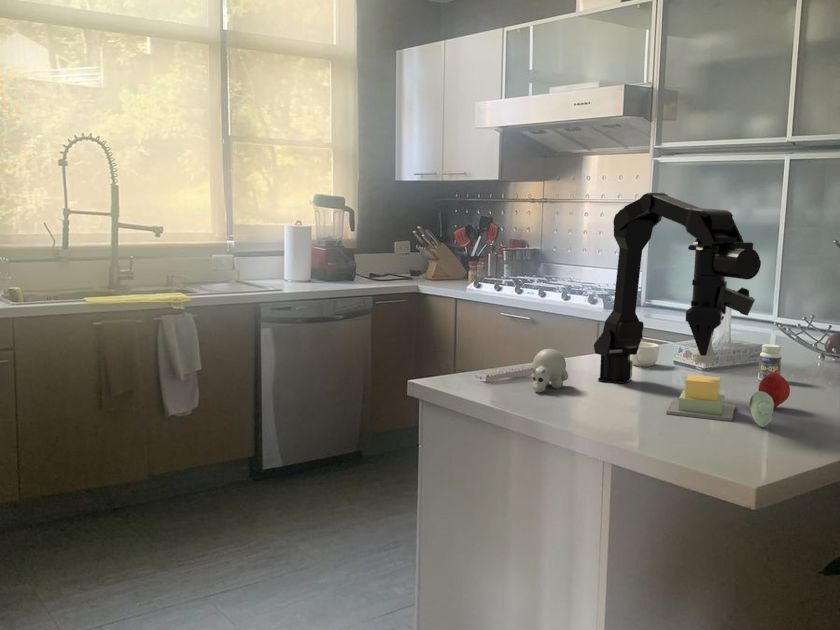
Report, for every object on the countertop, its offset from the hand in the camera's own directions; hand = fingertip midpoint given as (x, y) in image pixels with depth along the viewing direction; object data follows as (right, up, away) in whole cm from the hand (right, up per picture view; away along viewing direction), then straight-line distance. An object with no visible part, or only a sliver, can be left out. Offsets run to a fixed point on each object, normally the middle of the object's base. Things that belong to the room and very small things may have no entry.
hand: (704, 353), depth 159 cm
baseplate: (0, -12, +2) cm, 12 cm away
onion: (+15, -12, +5) cm, 20 cm away
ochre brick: (0, -9, +1) cm, 9 cm away
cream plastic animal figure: (-28, -9, +20) cm, 36 cm away
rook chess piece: (0, -2, 0) cm, 2 cm away
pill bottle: (+26, -8, +31) cm, 42 cm away
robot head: (+7, -13, -10) cm, 18 cm away
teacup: (0, -6, +47) cm, 47 cm away
